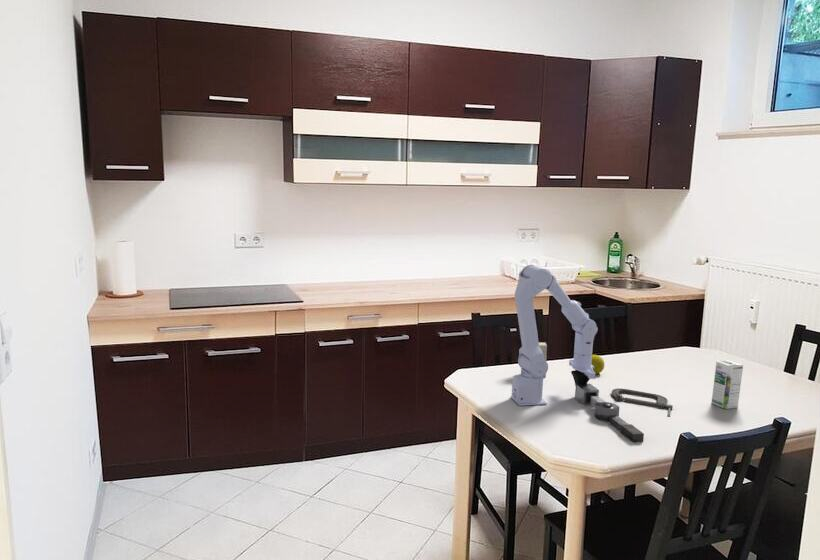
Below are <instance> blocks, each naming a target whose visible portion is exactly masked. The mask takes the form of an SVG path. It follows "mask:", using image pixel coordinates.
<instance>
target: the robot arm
mask: <svg viewBox="0 0 820 560" xmlns="http://www.w3.org/2000/svg"><path fill="white" fill-rule="evenodd" d="M544 290H547V291H548V292H549V293H550V295H551V296H552V297H553V298H554V299H555V300H556V301H557V303H558V304H559V305H561V312H562V314H563V315H564V317H566V319H567V320H568V321H569V323H570V324H571V329H572V330H573V331H575V333H574V334H575V335H574V347H573V349H574V350H573V359H569V362H568V365H569V366H570V367H572V369H573V370H571V371H570V373H571V375H572V377H573V381H574V386H575V387H576V384H589V383H588V382H590V380H592V379H593V380H595V379H596V374H595V372H594V371H593V368H594V366H593V365H591V361H592V355H593V347H594V346H593V345H594V340H595V336H596V335H597V333H598V331H599V330H598V329H599V328H598V326H597V323H596V321H595V320H594V319H591V318H590V315H589V313H588V312H586V311H585V310H584V309H583V308H582V307H581V306H582V303H581V302H580V301H576V300H574V299H570V297H569V296H568V294H567V293H566V291H565V290H564V289H563V287H562V285H561V284H560V283H559V282H558V280H557V278H556V276H554V275H553V274H552V273H551V271H550V270H548V269H547V268H542V267H538V266H535V265H533V264H528V265H526V266H524V267H523V269H521V271H520V272H519V273H518V282H517V285H516V289H515V291H514V298H515V306H516V313H517V319H518V320H517V322H518V327H519V334H520V340H521V347H520V348H519V349H518V354H519V355H518V358H517V362H518V366H519V368H520V373H519V374H515V375H513V376H512V381H511V395H510V398H511V399H512V400H513V401H514V402H515V403H516V405H518V406H537V405H538V406H540V405H547V402H546V400H544V398H543V387H544V378H545V377H544V375H545V374H546V375H547V372H548V370H549V363H548V362H547V359H546V360H545V359H544V354H543V352H542V350H541V349H540V347H539V342H540V341H539V337H538V336H539V335H538V329H537V327H538V326H537V320H536V314H535V313H536V312H535V305H534V299H535V298H536V296H537V295H538V294H540V293H541V292H543V291H544Z"/></svg>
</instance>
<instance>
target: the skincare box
mask: <svg viewBox="0 0 820 560" xmlns="http://www.w3.org/2000/svg"><path fill="white" fill-rule="evenodd" d="M539 347H540V349H541V350H542V352H543V354H544V359H545V360H546V361H547V353H548V352H547V351H548V349H547V348H548V345H547V342H542V341H541V342H540V341H539ZM546 377H547V373H546V374H545V375H544V378H546Z"/></svg>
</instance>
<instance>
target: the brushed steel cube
mask: <svg viewBox="0 0 820 560" xmlns="http://www.w3.org/2000/svg"><path fill="white" fill-rule="evenodd" d="M574 392H575V393H574V400H575V401H577V402H578V403H579V404H580V405H582V406H583V405H584V406H592V405H591V404H590V403H591V396H598V397H600V396H599V394H600V389H598V388H597V387H595V386H594V385H593V384H591V383H587V384H576V386H575V391H574Z"/></svg>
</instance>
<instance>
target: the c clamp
mask: <svg viewBox="0 0 820 560" xmlns="http://www.w3.org/2000/svg"><path fill="white" fill-rule="evenodd" d="M622 393H623V394H626V395H633V396H639V397H643V398H644V397H645V398H650V399H654V400H656V402H654V401H647V400H644V399H637V398H632V397H624V396H623V394H622ZM611 395H612V397H613V398H615V399H616V402H623V401H624V402H626V403H633V404H638V405H645V406H649V407H653V408H657V409H660V410H661V409H662V410H664V409H666V410H667V411H668V412H667V417H669V418H670V417H671V410H673V407H674V406H673V405H672V404H668V398H667V397H665V396H663V395H660V394H656V393H650V392H644V391H640V390H633V389H629V388H618V387H617V388H613V389H612V391H611Z"/></svg>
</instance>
